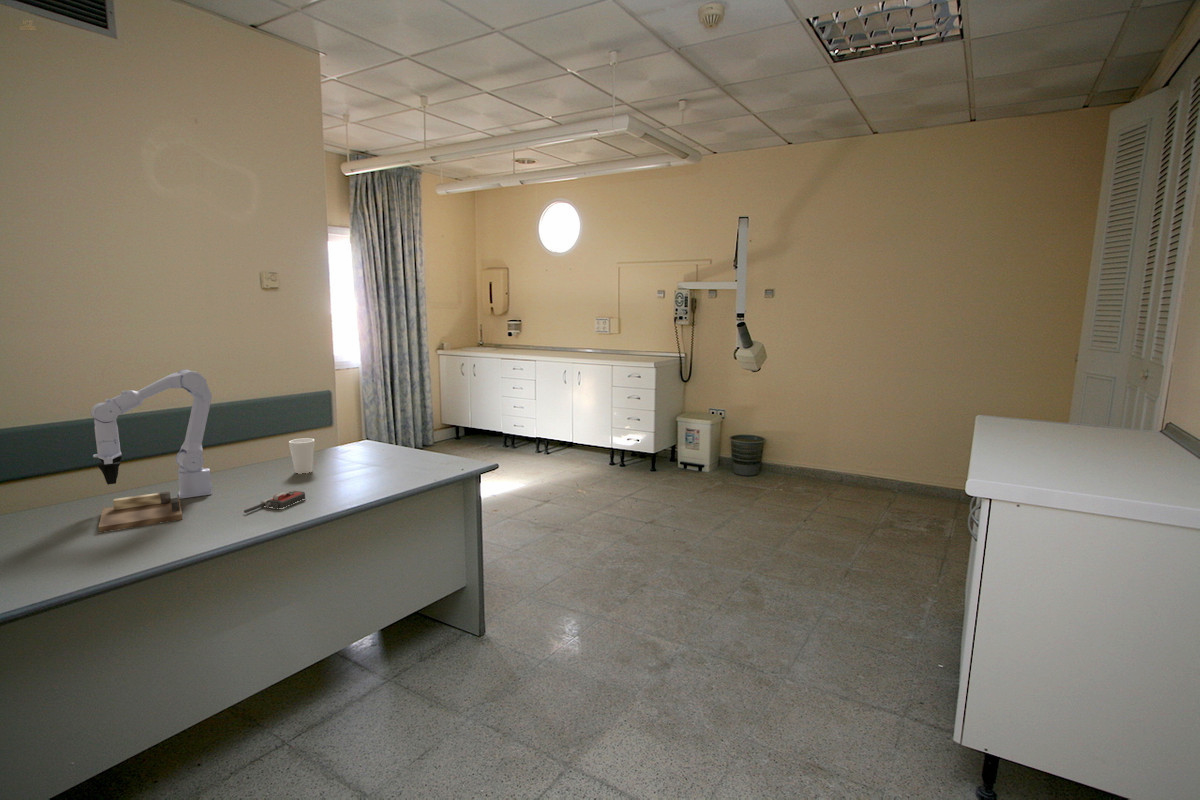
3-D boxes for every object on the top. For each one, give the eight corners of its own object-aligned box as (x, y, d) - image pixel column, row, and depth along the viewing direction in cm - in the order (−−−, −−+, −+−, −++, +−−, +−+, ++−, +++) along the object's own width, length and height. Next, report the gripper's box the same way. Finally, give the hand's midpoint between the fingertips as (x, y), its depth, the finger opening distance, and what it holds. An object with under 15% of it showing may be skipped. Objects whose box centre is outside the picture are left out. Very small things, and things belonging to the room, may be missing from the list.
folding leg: (170, 499, 197) (169, 491, 197) (171, 502, 195) (170, 493, 194) (114, 507, 188) (113, 498, 188) (113, 510, 186) (112, 501, 186)
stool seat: (179, 502, 201) (178, 488, 200) (182, 519, 185) (181, 504, 184) (103, 513, 189) (101, 499, 188) (99, 532, 173) (97, 517, 172)
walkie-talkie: (288, 497, 210) (241, 515, 191) (287, 485, 209) (240, 502, 190) (309, 499, 208) (264, 518, 188) (308, 487, 207) (263, 505, 188)
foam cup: (309, 475, 236) (307, 443, 234) (286, 474, 236) (284, 443, 234) (320, 469, 246) (319, 438, 244) (298, 468, 246) (296, 437, 244)
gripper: (93, 437, 193) (98, 477, 195) (89, 446, 182) (94, 488, 184) (121, 435, 197) (125, 474, 199) (118, 443, 186) (123, 484, 188)
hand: (112, 481), depth 192 cm, fingers open, 7 cm apart
